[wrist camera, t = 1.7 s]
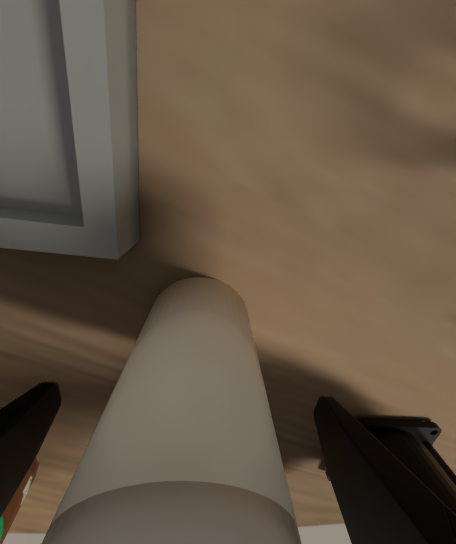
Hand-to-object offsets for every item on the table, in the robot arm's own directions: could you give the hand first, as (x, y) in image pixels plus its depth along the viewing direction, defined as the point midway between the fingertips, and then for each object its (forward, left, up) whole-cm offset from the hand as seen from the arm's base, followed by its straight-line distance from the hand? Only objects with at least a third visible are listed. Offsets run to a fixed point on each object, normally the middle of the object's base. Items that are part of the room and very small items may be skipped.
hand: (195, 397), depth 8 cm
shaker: (0, 0, -4) cm, 4 cm away
